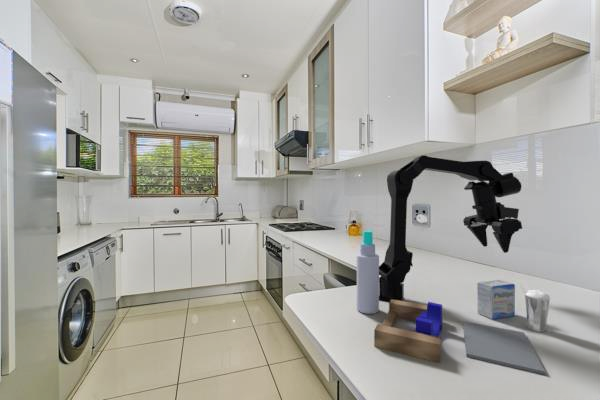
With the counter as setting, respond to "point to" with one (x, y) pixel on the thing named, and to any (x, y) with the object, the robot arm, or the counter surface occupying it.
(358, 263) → the spray bottle
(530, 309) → the milkshake
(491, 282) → the medicine box
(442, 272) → the counter surface
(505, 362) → the rubber mat
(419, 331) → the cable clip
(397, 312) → the walnut holder
